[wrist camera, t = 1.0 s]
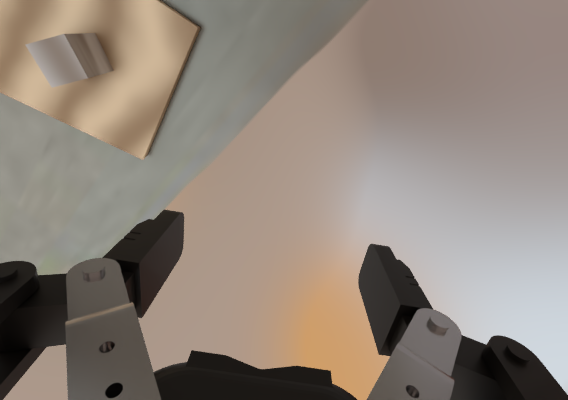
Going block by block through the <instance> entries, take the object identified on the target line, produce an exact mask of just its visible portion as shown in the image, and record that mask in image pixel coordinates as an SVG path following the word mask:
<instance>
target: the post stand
mask: <svg viewBox="0 0 568 400" xmlns="http://www.w3.org/2000/svg"><path fill="white" fill-rule="evenodd" d="M200 28H201V27H199V26H198V25H196V24H195V23H193V22H192V21H190V20H189V19H187V18H186V17H184V16H183V15H181V14H180V13H178V12H177V11H175V10H174V9H172V8H171V7H169V6H168V5H166V4H165V3H163V2H162V1H160V0H0V92H1V93H3V94H5V95H7V96H9V97H11V98H13V99H15V100H18V101H20V102H22V103H24V104H26V105H28V106H30V107H32V108H34V109H37V110H39V111H41V112H43V113H45V114H47V115H49V116H51V117H53V118H56V119H58V120H60V121H62V122H64V123H66V124H68V125H70V126H72V127H75V128H77V129H79V130H81V131H83V132H85V133H87V134H89V135H91V136H94V137H96V138H98V139H100V140H102V141H104V142H106V143H108V144H110V145H113V146H115V147H117V148H119V149H121V150H123V151H125V152H127V153H129V154H132V155H134V156H136V157H138V158H140V159H142V160H143V159H144V158H145V157H146V156H147V155H148V152H149V150H150V147H151V145H152V143H153V140H154V138H155V135H156V133H157V131H158V128H159V126H160V124H161V121H162V119H163V116H164V114H165V112H166V109H167V107H168V104H169V102H170V100H171V97H172V95H173V93H174V90H175V88H176V85H177V83H178V81H179V78H180V76H181V73H182V71H183V69H184V66H185V64H186V61H187V59H188V57H189V54H190V52H191V50H192V47H193V45H194V42H195V40H196V38H197V35H198V33H199V30H200Z"/></svg>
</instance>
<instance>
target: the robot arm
mask: <svg viewBox="0 0 568 400" xmlns="http://www.w3.org/2000/svg"><path fill="white" fill-rule="evenodd" d="M183 239H184V214H183V213H182V212H176V211H169V210H163V211H162V212H161V213H160V214H159V215H158V216H157V217H156V218H155V219H154V220H152V219H148V220H146V221H144V222H141V223H139V224H137V225H136V226H135V227H134V228H133V229H132V230H131V231H130V233H128V234H127V235H126V236H125V237H124V239H122V240H120V241H119V242H118V243H117V244H116V245H115V246H114V247H113V248H112V249H111V250H110V251H109V252H108V253H107V254H106V255H105V256H104V257H103V258H95V259H90V260H86V261H83V262H81V263H79V264H77V265H75V266H74V267H72V268H71V269H70V270H69V271H68V273H67V274H54V275H38V274H37V270H36V267H35V266H34V264H32V263H29V262H25V261H12V262H5V263H1V264H0V400H3V399H4V398H5V396H6V395H7V394H8V393H9V392H10V390H11V389H12V388H13V386H15V384H16V383H17V382H18V381H19V379H20V378H21V377H22V376H23V375H24V374H25V372H26V371H27V370H28V369H29V367H30V366H31V365H32V364H33V363H34V361H35V360H36V359H37V358H38V357H39V355H40V354H41V353H42V352H43V351H44V349H45V348H46V347H48V346H56V345H64V344H66V356H67V386H68V400H357V399H356V398H355V397H354V396H352V395H351V394H350V393H348V392H346V391H345V390H344V389H342V388H340V387H338V386H336V385H334V384H332V379H331V371H328V370H321V369H315V368H307V367H301V366H291V367H282V368H272V369H257V368H255V367H253V366H250V365H248V364H245V363H243V362H241V361H238V360H236V359H233V358H231V357H229V356H226V355H220V354H212V353H205V352H198V351H191V354H190V356H189V359H188V362H185V363H179V364H175V365H171V366H168V367H165V368H162V369H160V370H158V371H155V372H153V369H152V366H151V362H150V359H149V355H148V352H147V348H146V345H145V341H144V338H143V334H142V331H141V328H140V324H139V320H138V317H139V318H142V317H143V316H144V314H145V312H146V311H147V309H148V308H149V306H150V305H151V303H152V301H153V300H154V298H155V297H156V295H157V293H158V292H159V290H160V289H161V287H162V285H163V284H164V282H165V281H166V279H167V278H168V276H169V274H170V273H171V271H172V269H173V268H174V266H175V265H176V263H177V262H178V260H179V258H180V256H181V254H182V250H183ZM359 289H360V292H361V296H362V299H363V302H364V306H365V309H366V313H367V316H368V319H369V322H370V326H371V329H372V333H373V336H374V339H375V343H376V346H377V350H378V353H379V355H386V356H391V357H390V358H389V360H388V362H387V364H386V366H385V367H384V369H383V371H382V373H381V375H380V377H379V378H378V380H377V382H376V384H375V386H374V388H373V389H372V391H371V393H370V395H369V397H368V398H367V400H568V395H567V394H566V392H565V391H564V390H563V389H562V387H561V386H560V385H559V384H558V382H557V381H556V380H555V379H554V378H553V376H552V375H551V374H550V372H549V371H548V370H547V369H546V367H545V366H544V365H543V364H542V362H541V361H540V360H539V359H538V358H537V356H536V355H535V354H534V353H532V352H531V351H530V350H529V349H527V348H526V347H525V346H523V345H522V344H520V343H518V342H517V341H515V340H513V339H510V338H508V337H504V336H493V337H491V339H490V340H489V342H488V343H487V345H485V344H483V343H480V342H478V341H475V340H473V339H470V338H467V337H465V336H463V335H461V332H460V329H459V328H458V326H457V325H456V324H455V323H454V322H453V321H452V320H451V319H450V318H449V317H447V316H446V315H444V314H442V313H440V312H438V311H436V310H433V308H432V306H431V305H430V303H429V301H428V300H427V298H426V296H425V295H424V293H423V291H422V289H421V288H420V287H419V284H418V282H417V281H416V279H414V276H413V274H412V272H411V271H410V269H409V268H408V267H407V266H406V265H405V264H404V263H403V262H402V261H401V260H397V259H396V258H395V256H394V254H393V252H392V251H391V249H390V247H388V246H382V245H376V244H370V245H369V247H368V250H367V253H366V255H365V258H364V261H363V264H362V267H361V270H360V274H359Z"/></svg>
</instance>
